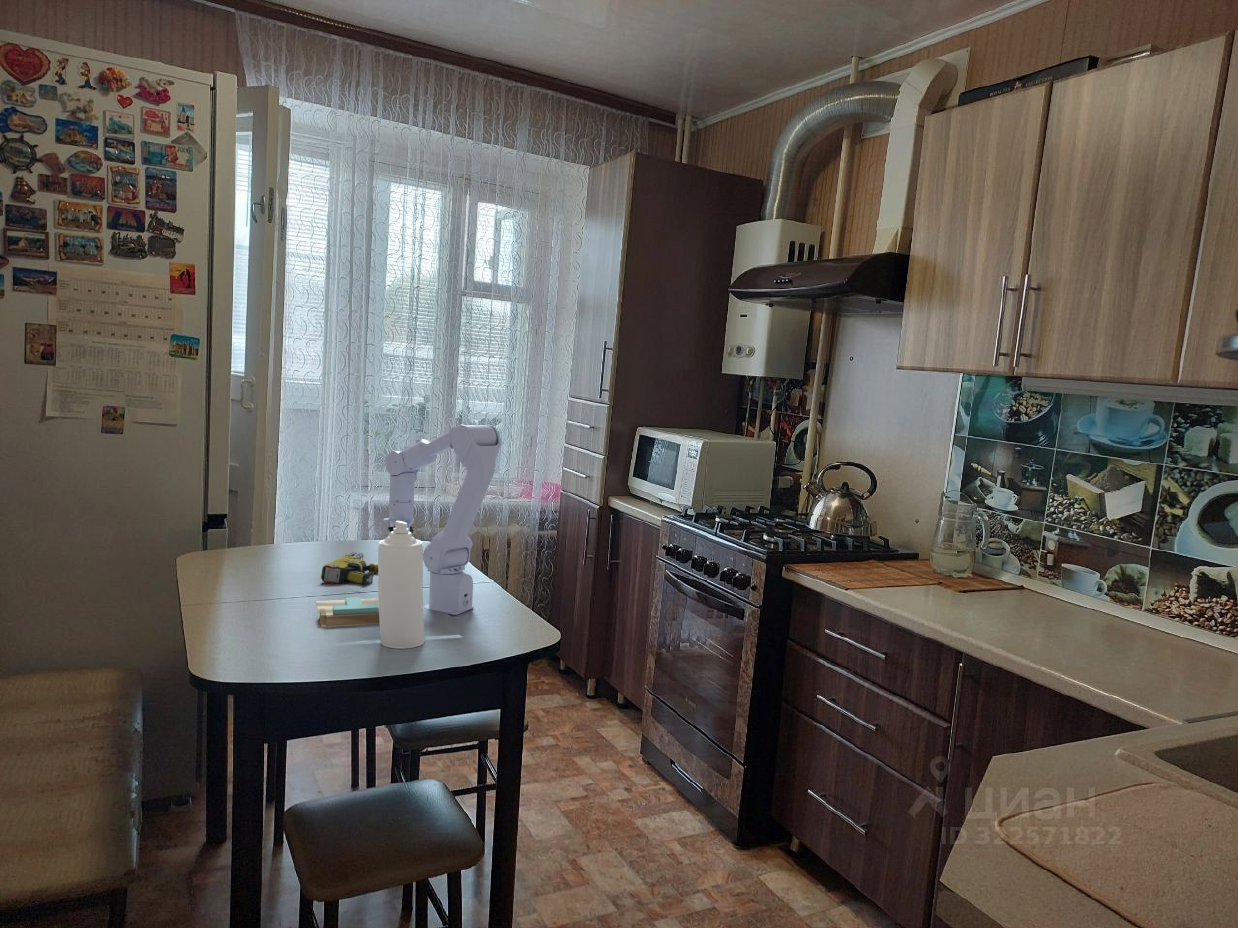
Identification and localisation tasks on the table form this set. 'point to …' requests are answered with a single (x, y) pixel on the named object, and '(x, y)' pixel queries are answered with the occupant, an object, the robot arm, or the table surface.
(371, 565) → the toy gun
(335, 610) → the t block
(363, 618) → the board
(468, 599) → the robot arm
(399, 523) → the spray can
